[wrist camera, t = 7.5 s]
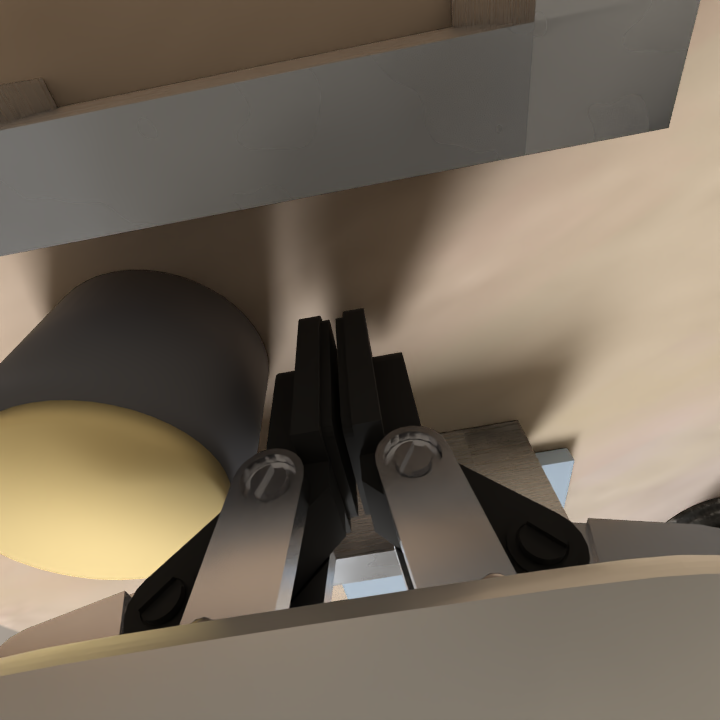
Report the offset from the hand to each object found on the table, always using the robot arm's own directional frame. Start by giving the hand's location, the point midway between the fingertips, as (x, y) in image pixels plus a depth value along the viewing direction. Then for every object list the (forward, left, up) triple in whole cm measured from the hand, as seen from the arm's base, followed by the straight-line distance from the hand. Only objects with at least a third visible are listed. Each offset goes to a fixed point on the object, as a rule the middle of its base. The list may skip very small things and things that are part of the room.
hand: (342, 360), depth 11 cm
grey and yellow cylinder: (+5, 0, -1) cm, 5 cm away
